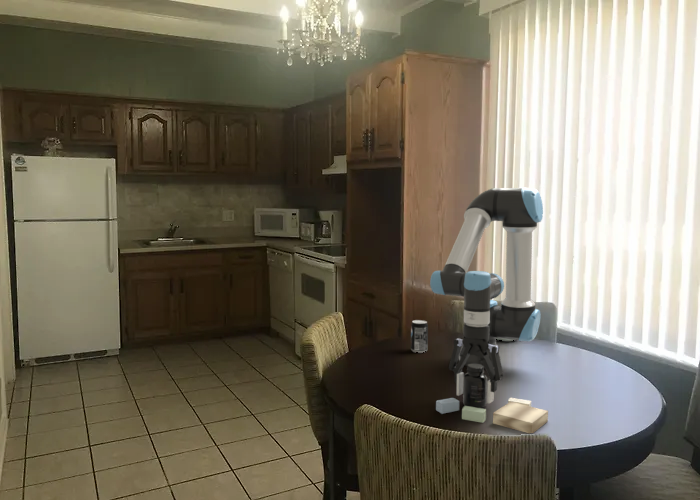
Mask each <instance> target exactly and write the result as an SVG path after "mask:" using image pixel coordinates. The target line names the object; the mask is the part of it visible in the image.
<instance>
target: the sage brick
mask: <svg viewBox="0 0 700 500" xmlns="http://www.w3.org/2000/svg"><path fill="white" fill-rule="evenodd" d="M461 420H465V421H471V422H476V423H477V422H478V423H485V421H486V420H487V408H475V407H469V406H465V405H464V406H463V407H462V409H461Z"/></svg>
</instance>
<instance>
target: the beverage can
mask: <svg viewBox="0 0 700 500" xmlns="http://www.w3.org/2000/svg"><path fill="white" fill-rule="evenodd" d="M410 325H411V326H410V350H411V351H412V352H413V353H416V352H418V353H417V354H422V353H423V352H424V353H426V352H427V351H428V346H429V344H428V342H429V339H428V337H429V325H428V321H426V320H424V319H423V320H421V319H415V320H412V322H411V324H410ZM425 351H426V352H425Z"/></svg>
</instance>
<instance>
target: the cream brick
mask: <svg viewBox="0 0 700 500" xmlns="http://www.w3.org/2000/svg"><path fill="white" fill-rule="evenodd" d="M509 402H514V403H518V404H522V405H526V406H530V407H532V400H528V399H521V398H516V397H515V398H514V397H509V398H508V399H507V404H508V403H509Z"/></svg>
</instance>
